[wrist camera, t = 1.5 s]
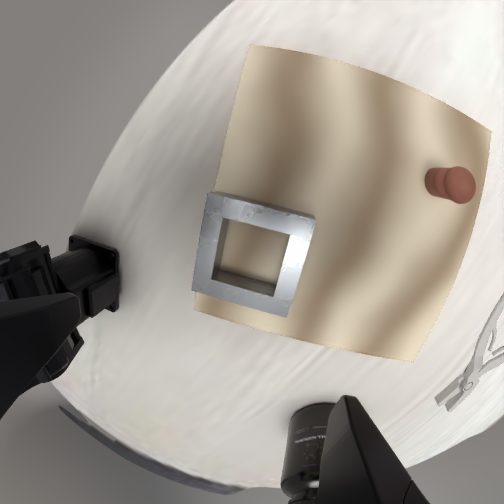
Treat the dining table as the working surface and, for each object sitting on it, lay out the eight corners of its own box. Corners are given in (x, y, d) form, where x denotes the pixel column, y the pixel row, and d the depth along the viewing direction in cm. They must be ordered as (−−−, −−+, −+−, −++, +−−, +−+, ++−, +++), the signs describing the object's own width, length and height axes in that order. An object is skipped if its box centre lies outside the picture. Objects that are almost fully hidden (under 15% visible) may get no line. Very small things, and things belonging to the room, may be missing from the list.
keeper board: (200, 301, 22) (170, 339, 16) (253, 52, 16) (234, 14, 10) (408, 352, 20) (428, 395, 15) (481, 132, 14) (524, 127, 8)
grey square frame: (201, 279, 20) (191, 290, 18) (217, 190, 18) (207, 193, 16) (288, 303, 19) (286, 317, 17) (314, 215, 17) (316, 220, 15)
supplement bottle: (314, 393, 23) (309, 503, 12) (365, 413, 23) (376, 509, 11) (276, 426, 25) (259, 519, 14) (325, 443, 25) (322, 528, 14)
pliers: (541, 324, 15) (460, 417, 20) (535, 318, 17) (456, 409, 21) (520, 282, 15) (422, 398, 20) (511, 276, 16) (418, 388, 21)
